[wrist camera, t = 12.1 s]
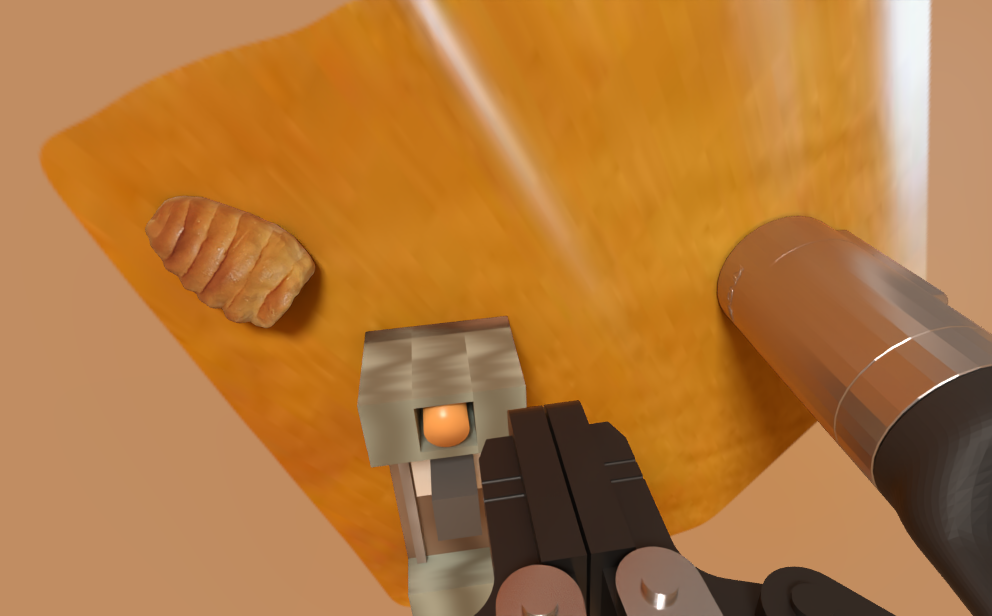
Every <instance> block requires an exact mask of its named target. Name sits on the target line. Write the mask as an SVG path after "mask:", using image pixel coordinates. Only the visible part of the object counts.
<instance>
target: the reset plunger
mask: <svg viewBox="0 0 992 616" xmlns="http://www.w3.org/2000/svg"><path fill="white" fill-rule="evenodd" d="M423 425H424V435H425V438H426V439H427V440H428V441H429V442H430V443H431V444H433V445H436V446H439V447H451V446H455V445H457V444H459V443H461V442H462V441H464V440H465V439H466V437H467V436H468V434H469V430H470V427H469V419H468V411H467V403H466V402H464V403H456V404H448V405H440V406H432V407H424V408H423Z"/></svg>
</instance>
